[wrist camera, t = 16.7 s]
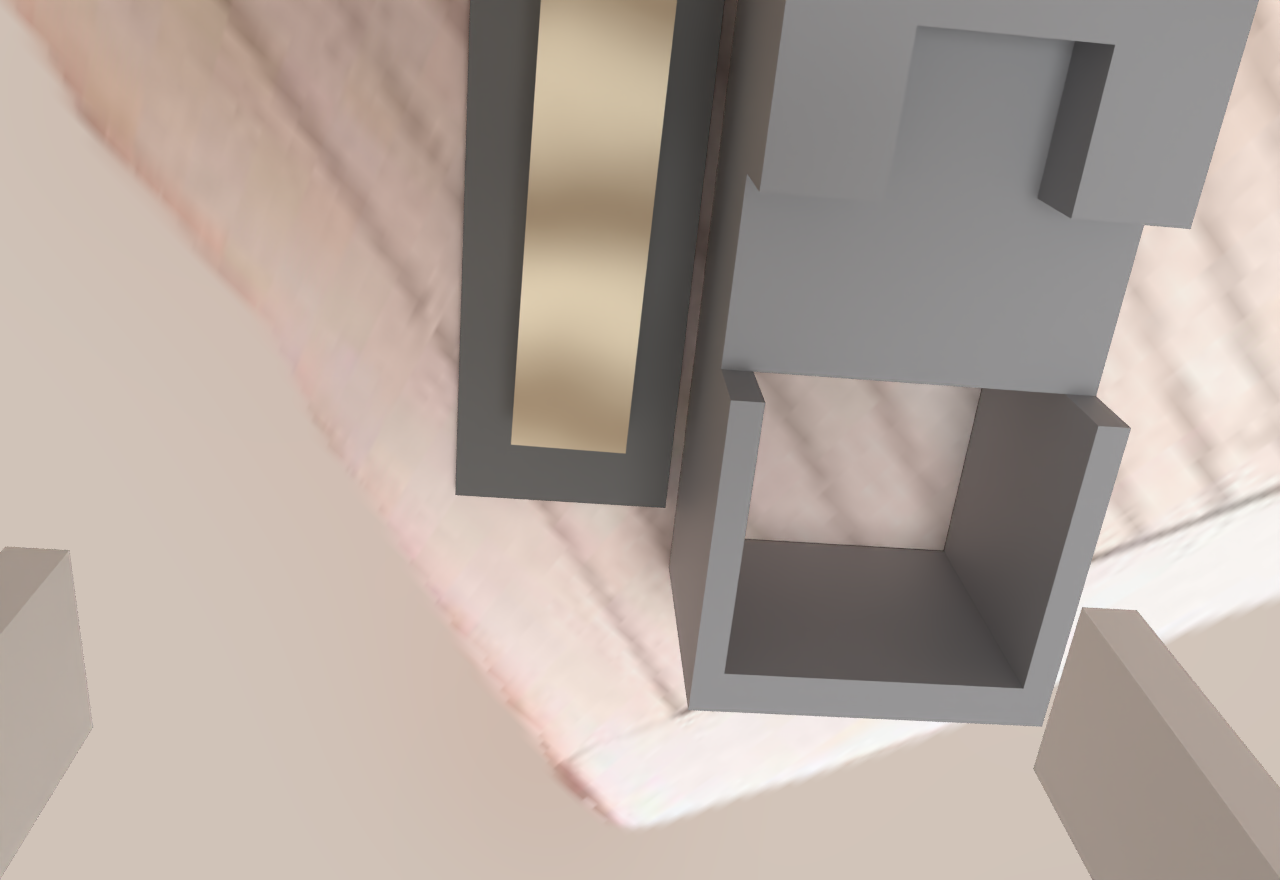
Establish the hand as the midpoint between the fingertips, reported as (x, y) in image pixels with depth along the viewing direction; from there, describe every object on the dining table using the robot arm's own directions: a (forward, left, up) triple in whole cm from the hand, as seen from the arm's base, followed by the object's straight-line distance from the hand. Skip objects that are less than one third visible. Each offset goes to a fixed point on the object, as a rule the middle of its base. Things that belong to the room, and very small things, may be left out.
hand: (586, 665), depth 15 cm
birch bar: (-1, 0, -26) cm, 26 cm away
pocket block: (+3, +10, -26) cm, 29 cm away
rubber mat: (+1, 0, -26) cm, 26 cm away
